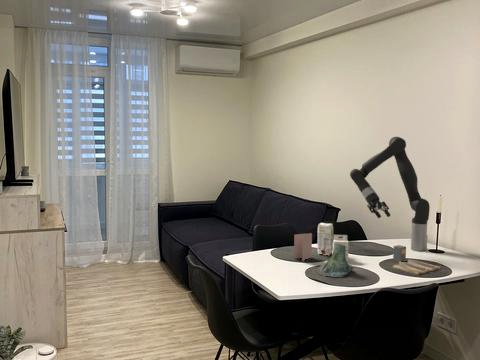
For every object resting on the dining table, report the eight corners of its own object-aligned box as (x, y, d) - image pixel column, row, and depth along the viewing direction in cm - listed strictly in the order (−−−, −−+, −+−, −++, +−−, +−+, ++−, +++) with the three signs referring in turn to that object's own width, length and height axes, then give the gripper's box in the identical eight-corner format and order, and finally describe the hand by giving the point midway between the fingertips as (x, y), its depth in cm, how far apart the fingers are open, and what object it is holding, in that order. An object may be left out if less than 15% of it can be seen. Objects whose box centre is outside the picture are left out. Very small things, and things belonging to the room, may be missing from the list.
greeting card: (310, 257, 278) (311, 233, 277) (316, 260, 271) (316, 235, 270) (293, 259, 275) (293, 234, 273) (298, 262, 268) (299, 236, 266)
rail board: (415, 261, 268) (415, 257, 268) (440, 268, 255) (440, 264, 254) (392, 267, 257) (392, 263, 257) (417, 274, 244) (417, 270, 244)
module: (398, 259, 274) (398, 245, 274) (405, 261, 270) (406, 246, 269) (393, 260, 272) (393, 246, 271) (400, 262, 268) (401, 247, 267)
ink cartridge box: (333, 261, 270) (333, 236, 269) (332, 258, 275) (333, 234, 274) (348, 261, 270) (348, 236, 268) (347, 259, 274) (347, 234, 273)
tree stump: (307, 271, 251) (313, 239, 253) (335, 275, 261) (340, 243, 262) (330, 279, 235) (336, 244, 237) (358, 282, 245) (364, 248, 246)
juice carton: (329, 256, 281) (329, 225, 279) (316, 254, 285) (316, 224, 283) (333, 253, 287) (334, 223, 285) (320, 251, 291) (321, 222, 290)
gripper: (366, 192, 280) (380, 214, 272) (381, 191, 288) (396, 212, 280) (359, 200, 285) (373, 221, 277) (374, 198, 293) (388, 219, 285)
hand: (384, 216), depth 278 cm, fingers open, 8 cm apart
